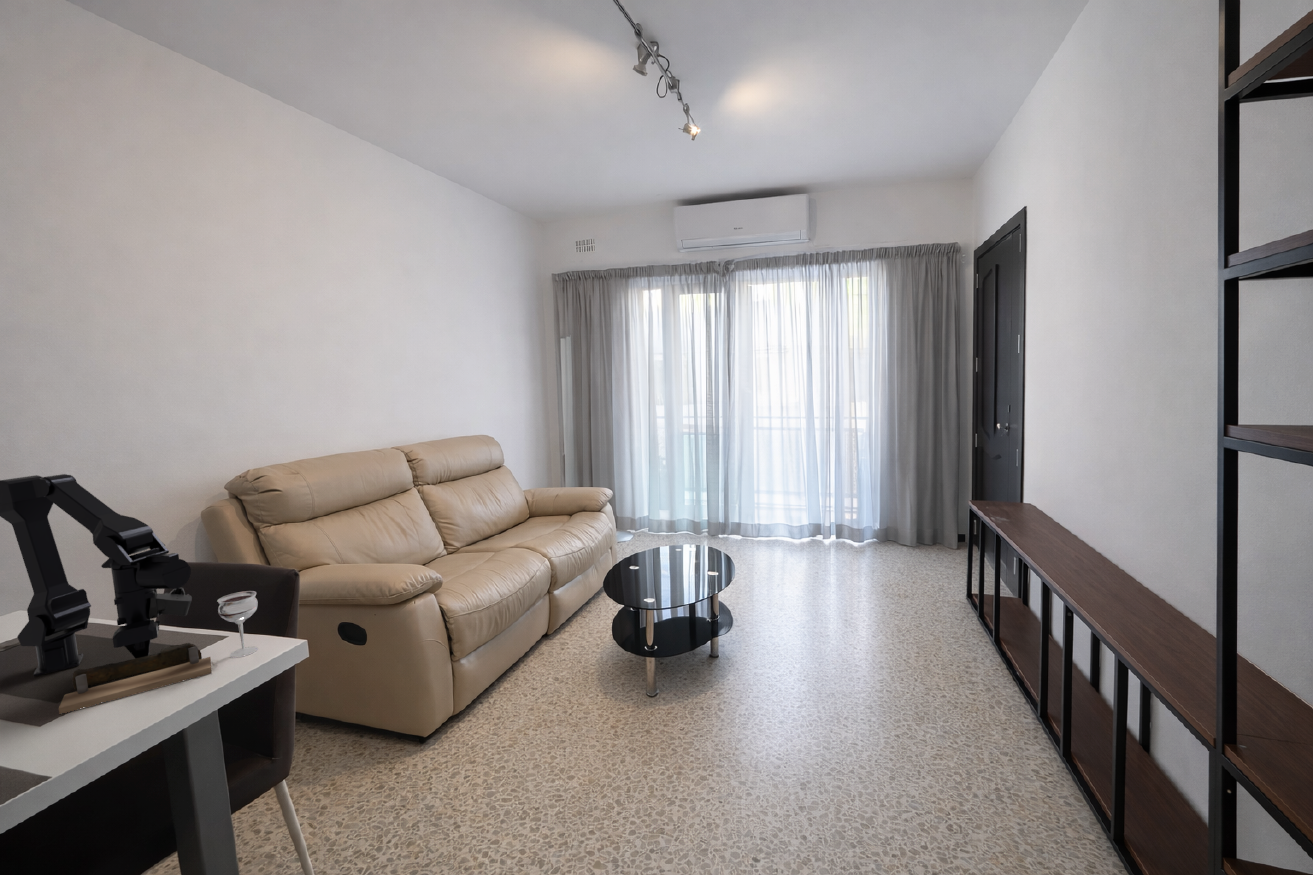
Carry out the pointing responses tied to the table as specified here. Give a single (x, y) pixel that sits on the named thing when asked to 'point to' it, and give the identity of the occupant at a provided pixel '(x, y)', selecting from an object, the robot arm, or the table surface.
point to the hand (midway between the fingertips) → (144, 663)
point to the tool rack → (134, 683)
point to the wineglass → (239, 615)
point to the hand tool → (136, 665)
